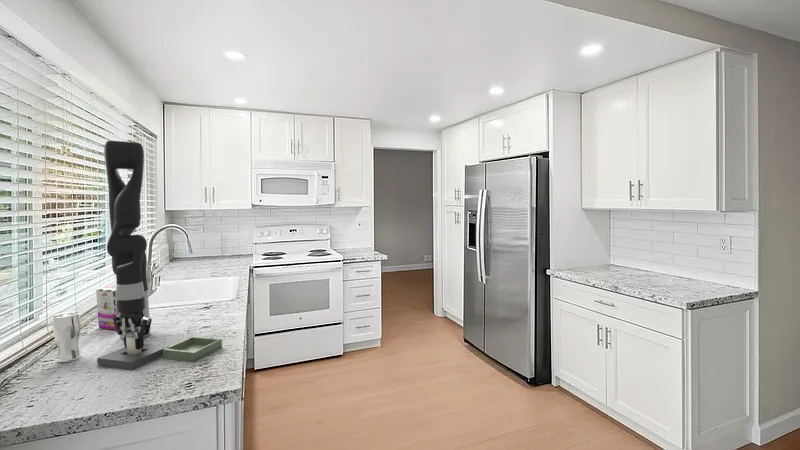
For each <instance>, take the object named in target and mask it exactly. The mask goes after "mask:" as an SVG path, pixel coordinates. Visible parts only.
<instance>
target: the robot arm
mask: <svg viewBox="0 0 800 450" xmlns="http://www.w3.org/2000/svg"><path fill="white" fill-rule="evenodd" d="M103 149H104V150H103V157H104V164H105V170H106V177H107V185H108V186H107V187H108V208H109V209H108V211H109V221H110V222H109V224H110V230H111V233H110V235H109V238H108V241H107V245H106V251H107V253H108V255H109V256H110V257H111V267H112V271H113V273H114V275H116V276H115V278H116V288H117V289H116V295H117V310H118V312H119V314H118V315H119V316H117V317H114V318H113V321H114V324H115V327H116V330H117V331H116V330H115V331H116V333H117V335H118V336H119V338H121V339H122V340H123V345H124V347H125V348H127V344H126V333H127V332H129V331H132V332H134V334H135V346H136V349H138V350H139V349H141V348H143V346H144V341H145V340H144V338H145V337H148V336H150V335H151V325H152V321H153V319H152V317H150V304H149V303H150V302H149V290H148V277H147V276H148V275H147V273H148V268H147V266H148V265H147V264H148V263H147V261H148V260H147V253H146V251H147V246H148V242H147V239H146V238H145V237H144V236H143V235H141V234H133V233H134V231H135V230H136V229H137V228H139V227H140V224H141V221H142V220H141V218H142V217H141V214H142V212H141V192H142V186H143V179H144V177H143V176H144V170H145V169H144V167H145V151H144V147H143V145H142V144H141V143H140V142H133V141H121V140H107V141H106V142H105V144H104V148H103ZM119 170H132V174H131V176H130V178H129V180H128V182H127V184H126V183H125V182H124V180H123V178H122V177H121V175H120V172H119ZM138 330H139V331H140V334H139V333H138Z"/></svg>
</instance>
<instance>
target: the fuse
mask: <svg viewBox="0 0 800 450" xmlns="http://www.w3.org/2000/svg"><path fill="white" fill-rule="evenodd" d="M138 333H139V334H140V331H139V330H138ZM126 344H127V355H131V356H134V355H136V354H139V353H141V352H142V348H141V349H139V350H138V349H136V346H135V334H134V332H132V331H129V332H127V333H126Z"/></svg>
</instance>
